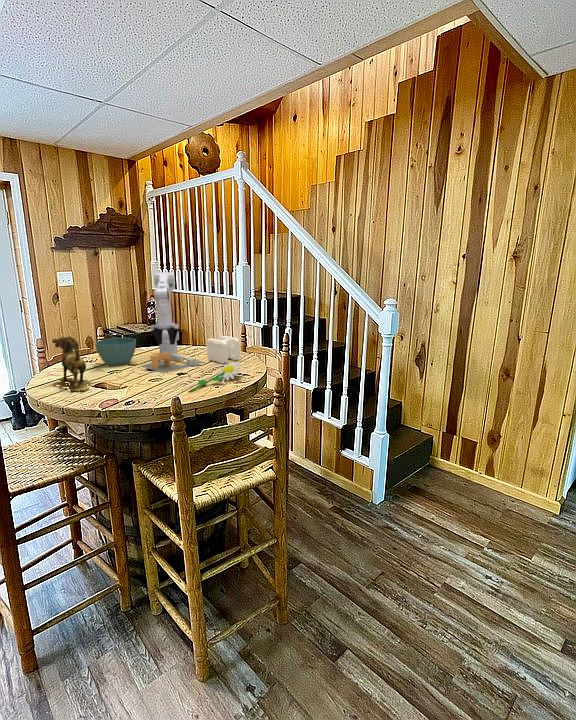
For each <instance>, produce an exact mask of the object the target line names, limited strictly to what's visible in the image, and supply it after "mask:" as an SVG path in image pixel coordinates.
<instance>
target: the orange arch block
mask: <svg viewBox="0 0 576 720" xmlns="http://www.w3.org/2000/svg"><path fill="white" fill-rule="evenodd" d="M161 361H164V364H165V365H166V366H172V365H171V364H172V362H171V354H170V353H166V352H165V353H160V352H159V353H155V354H151V355H150V364H151V365H152V368H153V369H159V366H158V362H161Z"/></svg>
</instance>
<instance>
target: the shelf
mask: <svg viewBox="0 0 576 720" xmlns="http://www.w3.org/2000/svg"><path fill="white" fill-rule="evenodd" d="M182 360H186V364H183V365H177V364H174V363H172V362H177V361H182ZM202 364H207V362H205V361H202V360H199V359H195V358H193V357H190V356H186V355H181V354H179V353H178V354H174V353H172V354H171V365H172V366H166V365H165V364H164V360H161V362H158V366H159V369H153V368H152V365H151V363H147V364H142V365H140V367H142V368H146V369H149V370H151V371H155V372H158V373H162V374H166V373H171V372H175V371H178V370H182V369H183V370H184V369H187V368H190V367H194V366H198V365H202Z"/></svg>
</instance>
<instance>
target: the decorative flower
mask: <svg viewBox="0 0 576 720" xmlns="http://www.w3.org/2000/svg"><path fill="white" fill-rule="evenodd" d="M242 364H243V363H240V361H238V362H235V361H232V362H231V361H230V362H229V361H228V362H227V363H224V364H223V366H221V367H220V370H218V371H217V375H215V376H213V377H211V378H210V379H208V380H205V379H200V380H199V381H198V382H197V384H198V385H197V386H195V387H193V388H191V389H189V390H188V391H187V392H190V393H192V392H194V391H195V390H197V389H199V388H200V387H202V386H204V385H206V384H208V383H210V382H212V381H213V382H221V381H222V382H223V381H224V382H225V381H227V382H229V380H230V379H232V380H234V378H235V376H237V375H238V373H241V372H242V371H241V370H240V369H242ZM191 391H192V392H191Z"/></svg>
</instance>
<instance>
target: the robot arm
mask: <svg viewBox="0 0 576 720" xmlns="http://www.w3.org/2000/svg"><path fill="white" fill-rule="evenodd" d="M175 278H176V277H175V273H174V272H173V271H172V272H154V273H153V281H154V286H155V289H154V291H153V292H154V293H153V294H154V299H155V305H156V313H157V324H151V325H150V326H151V330H150V331H151V332H152V334H153V337H154V338H155V341H156V343H157V345H158V348H159V349H158V351H159V354H160V353H165V352H166V353H170V354H172V353H174V354H178V355H179V353H178V342H177V341H179V340H180V335H179V333H180V331H179V324H178V323H174V322H173V317H172V316H173V312H172V299H171V297H172V296H171V294H172V291H174V290H175V287H176V281H175Z"/></svg>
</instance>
